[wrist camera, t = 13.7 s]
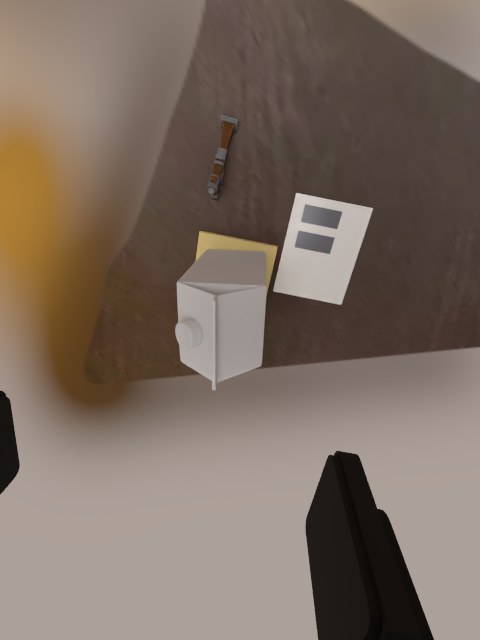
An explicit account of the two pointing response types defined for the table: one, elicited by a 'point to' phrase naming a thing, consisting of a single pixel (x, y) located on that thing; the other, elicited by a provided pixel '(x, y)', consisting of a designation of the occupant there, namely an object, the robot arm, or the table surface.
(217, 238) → the coaster
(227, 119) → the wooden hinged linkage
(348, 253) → the tile
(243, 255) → the milk carton
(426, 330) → the table surface
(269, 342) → the table surface
